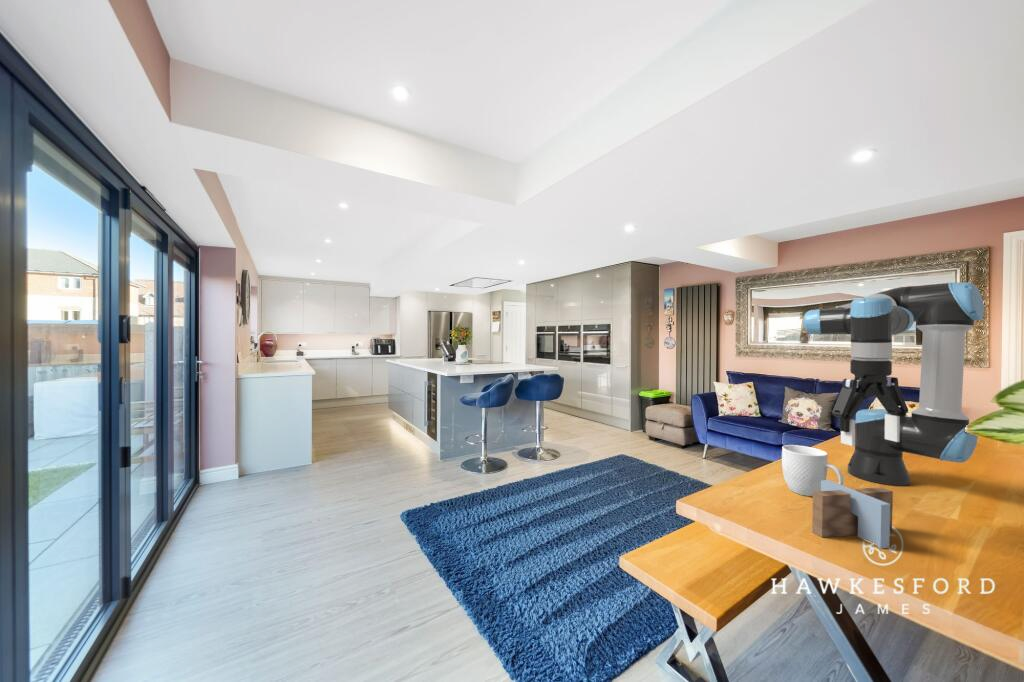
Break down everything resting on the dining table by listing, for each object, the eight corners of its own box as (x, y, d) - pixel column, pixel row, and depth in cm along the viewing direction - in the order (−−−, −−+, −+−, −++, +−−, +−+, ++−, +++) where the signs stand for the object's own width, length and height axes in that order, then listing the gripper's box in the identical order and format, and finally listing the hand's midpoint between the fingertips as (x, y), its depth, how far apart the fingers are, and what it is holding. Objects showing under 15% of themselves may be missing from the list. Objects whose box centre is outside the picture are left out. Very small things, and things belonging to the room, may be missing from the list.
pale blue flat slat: (820, 518, 98) (821, 480, 97) (828, 517, 98) (828, 480, 98) (880, 548, 84) (881, 504, 84) (889, 547, 84) (890, 504, 84)
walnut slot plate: (880, 526, 94) (881, 487, 93) (891, 531, 91) (892, 491, 91) (812, 532, 91) (813, 491, 90) (821, 537, 88) (822, 496, 88)
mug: (849, 499, 109) (849, 455, 109) (836, 508, 103) (837, 462, 103) (789, 482, 122) (790, 442, 121) (775, 489, 116) (775, 448, 115)
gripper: (893, 356, 99) (892, 434, 100) (814, 359, 95) (813, 441, 96) (929, 358, 91) (928, 443, 92) (844, 362, 87) (844, 450, 88)
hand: (870, 442), depth 94 cm, fingers open, 13 cm apart
